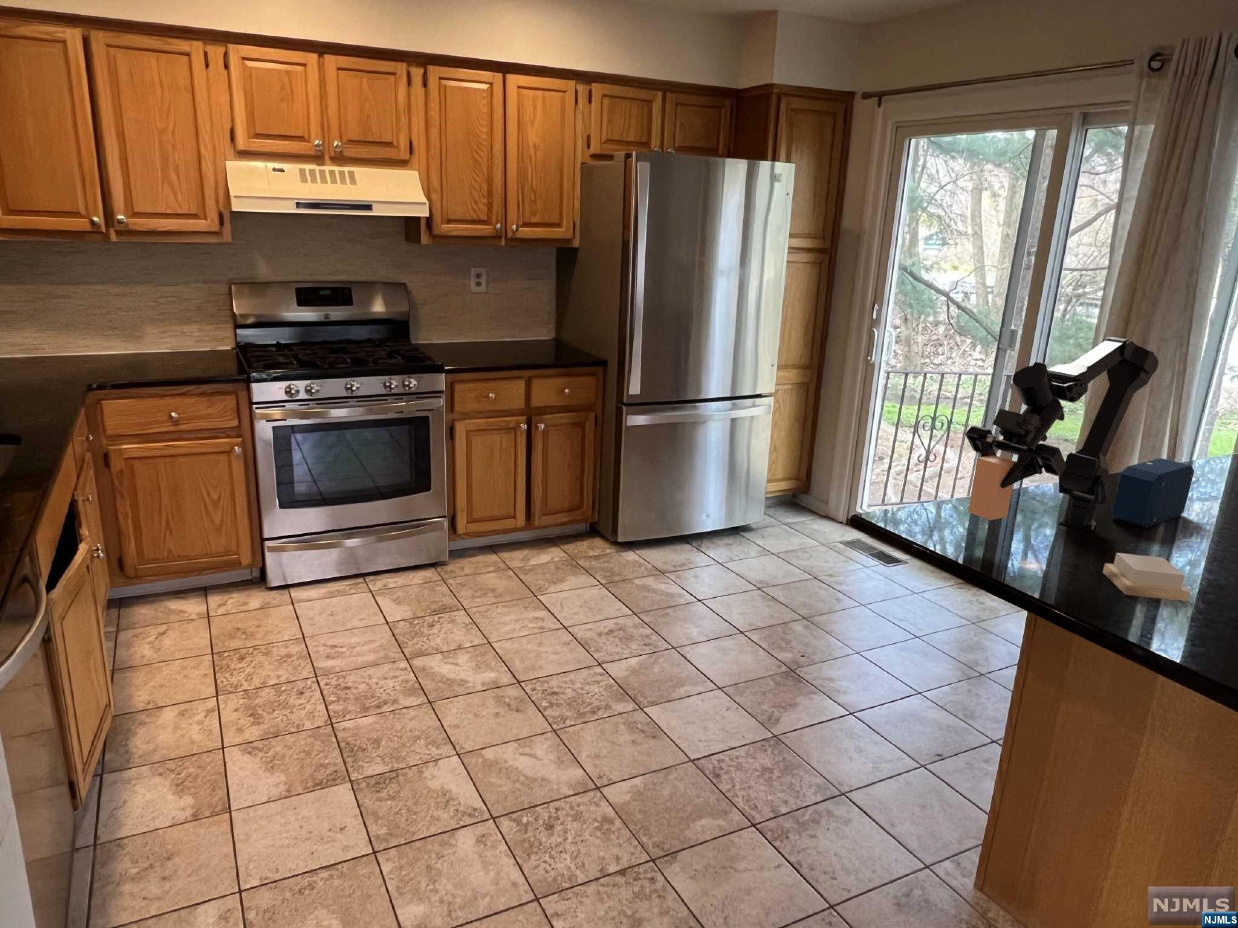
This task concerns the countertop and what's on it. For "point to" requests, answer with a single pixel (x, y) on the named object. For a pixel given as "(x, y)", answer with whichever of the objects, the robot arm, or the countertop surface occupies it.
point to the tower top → (1148, 570)
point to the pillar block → (991, 488)
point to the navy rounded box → (1152, 491)
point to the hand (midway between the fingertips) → (989, 482)
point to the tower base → (1143, 586)
